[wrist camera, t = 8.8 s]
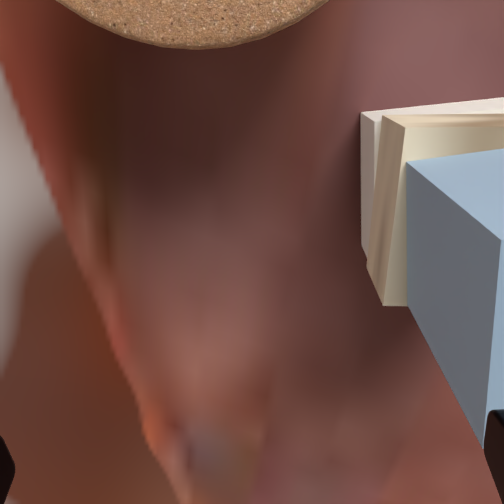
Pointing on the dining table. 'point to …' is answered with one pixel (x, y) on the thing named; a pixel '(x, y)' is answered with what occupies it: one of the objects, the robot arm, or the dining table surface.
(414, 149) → the slab top
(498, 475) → the robot arm
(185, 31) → the lidded jar
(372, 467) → the dining table surface
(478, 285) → the blue block
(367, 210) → the slab bottom
